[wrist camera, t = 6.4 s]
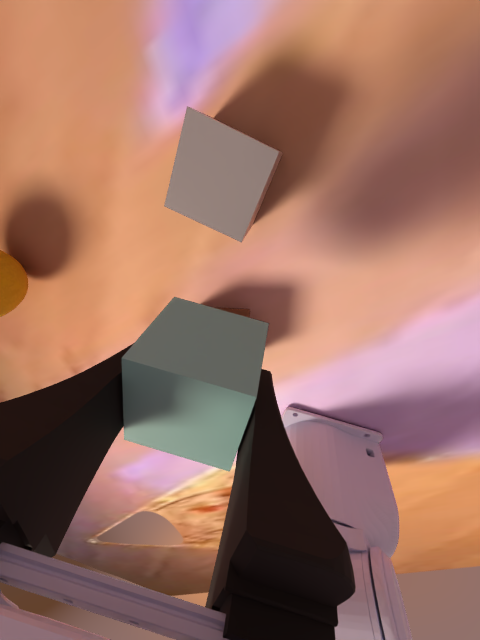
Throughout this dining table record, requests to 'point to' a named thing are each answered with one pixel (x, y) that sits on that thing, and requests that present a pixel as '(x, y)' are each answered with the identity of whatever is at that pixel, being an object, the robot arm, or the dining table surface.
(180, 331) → the teal block
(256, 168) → the grey block
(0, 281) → the lemon
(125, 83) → the dining table surface
